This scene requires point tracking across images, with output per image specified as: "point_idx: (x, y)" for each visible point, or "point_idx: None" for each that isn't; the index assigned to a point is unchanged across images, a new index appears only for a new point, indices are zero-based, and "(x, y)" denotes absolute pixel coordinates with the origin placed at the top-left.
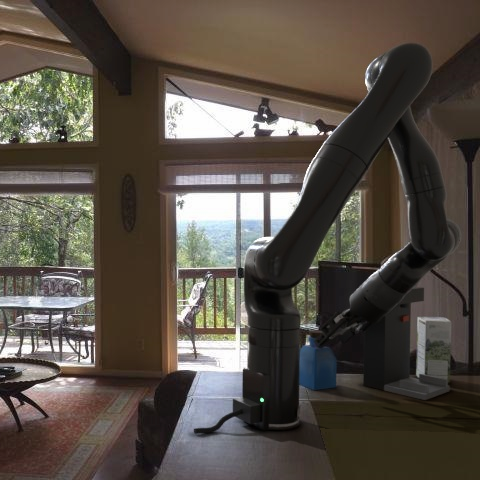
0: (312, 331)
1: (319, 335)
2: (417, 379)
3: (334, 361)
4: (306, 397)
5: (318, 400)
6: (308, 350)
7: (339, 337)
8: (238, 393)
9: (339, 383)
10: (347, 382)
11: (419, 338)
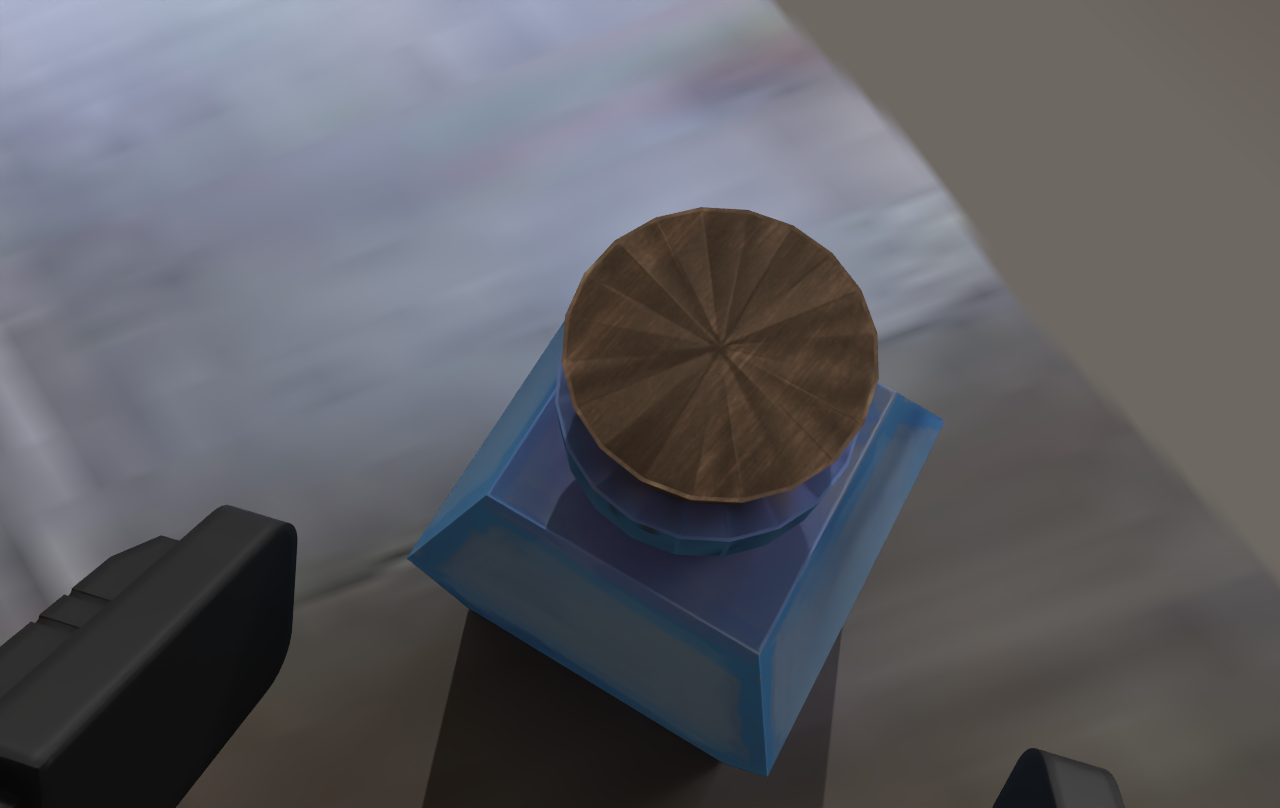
0: (671, 278)
1: (108, 609)
2: None
3: (726, 754)
4: None
5: None
6: (544, 387)
7: (1020, 796)
8: (19, 122)
9: (903, 739)
10: None
11: None
